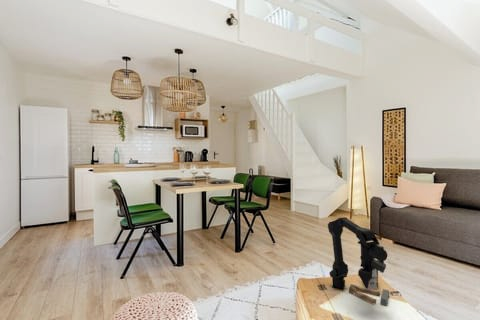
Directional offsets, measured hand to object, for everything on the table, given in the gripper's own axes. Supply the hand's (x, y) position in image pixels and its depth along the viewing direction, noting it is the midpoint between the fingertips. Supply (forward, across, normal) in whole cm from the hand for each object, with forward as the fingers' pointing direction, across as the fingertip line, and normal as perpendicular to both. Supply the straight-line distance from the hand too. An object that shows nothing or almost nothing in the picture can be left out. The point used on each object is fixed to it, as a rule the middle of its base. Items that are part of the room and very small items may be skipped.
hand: (367, 284), depth 133 cm
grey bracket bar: (+12, +12, -7) cm, 19 cm away
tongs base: (+12, +14, +4) cm, 19 cm away
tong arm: (+12, +9, +4) cm, 16 cm away
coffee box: (+12, +27, +2) cm, 30 cm away
